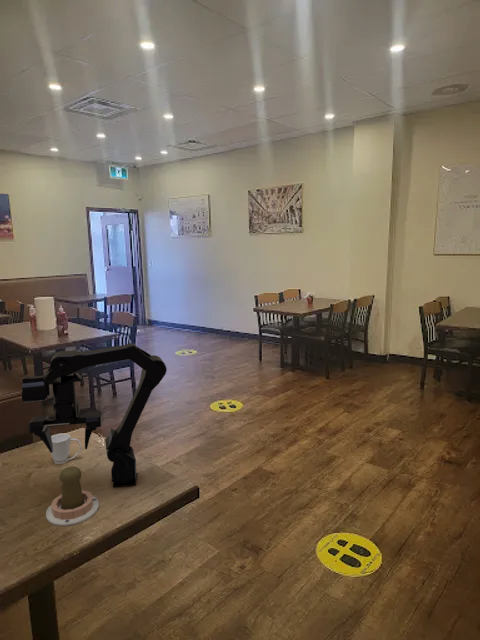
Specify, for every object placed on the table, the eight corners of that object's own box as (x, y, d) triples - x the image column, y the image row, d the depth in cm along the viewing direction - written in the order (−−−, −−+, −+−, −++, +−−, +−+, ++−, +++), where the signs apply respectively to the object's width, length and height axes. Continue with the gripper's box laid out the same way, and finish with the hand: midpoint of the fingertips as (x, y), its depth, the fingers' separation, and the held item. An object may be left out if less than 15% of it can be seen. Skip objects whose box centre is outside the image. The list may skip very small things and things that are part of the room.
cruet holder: (102, 494, 122) (102, 485, 121) (93, 523, 109) (92, 513, 109) (54, 498, 120) (53, 489, 120) (39, 528, 107) (38, 518, 107)
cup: (51, 457, 144) (49, 434, 143) (82, 453, 146) (81, 430, 145) (47, 467, 137) (45, 443, 136) (81, 463, 140) (79, 439, 138)
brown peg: (76, 515, 111) (73, 476, 109) (55, 513, 112) (52, 473, 110) (89, 502, 117) (86, 464, 115) (69, 499, 118) (66, 462, 116)
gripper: (103, 385, 129) (106, 435, 132) (36, 390, 125) (40, 441, 128) (98, 398, 118) (102, 452, 121) (25, 404, 115) (30, 459, 117)
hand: (69, 450), depth 122 cm, fingers open, 9 cm apart
